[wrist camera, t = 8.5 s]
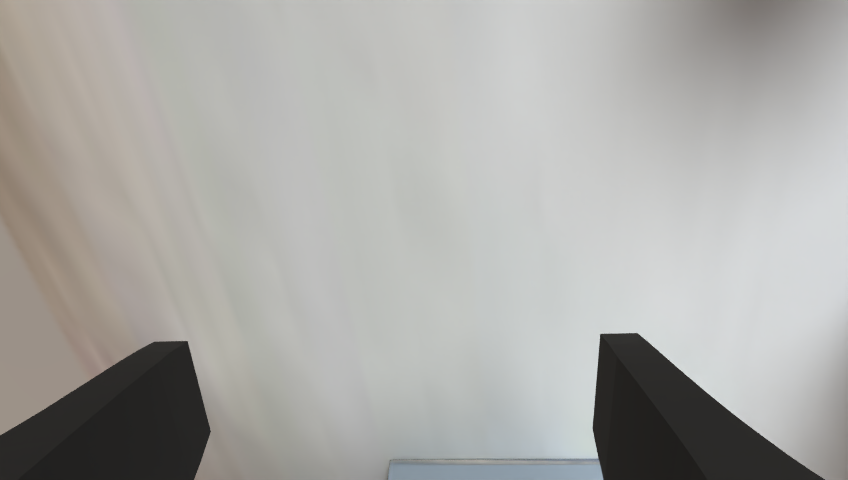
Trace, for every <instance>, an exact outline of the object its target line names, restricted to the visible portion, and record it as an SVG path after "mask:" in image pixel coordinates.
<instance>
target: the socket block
mask: <svg viewBox="0 0 848 480" xmlns="http://www.w3.org/2000/svg"><path fill="white" fill-rule="evenodd" d="M388 480H603V475H602V471H601V466H600V462H599V459H511V460H390V468H389V475H388Z"/></svg>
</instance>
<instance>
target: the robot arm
mask: <svg viewBox="0 0 848 480" xmlns="http://www.w3.org/2000/svg"><path fill="white" fill-rule="evenodd" d="M210 432H211V431H210V427H209V423H208V419H207V415H206V412H205V408H204V404H203V400H202V396H201V392H200V388H199V384H198V380H197V376H196V373H195V369H194V365H193V361H192V357H191V353H190V349H189V345H188V341H171V342H153V343H151V344H149V345H147V346H145V347H143V348H142V349H140V350H138V351H136V352H135V353H133V354H131V355H130V356H128V357H126V358H125V359H123V360H121V361H120V362H118V363H117V364H115V365H113V366H112V367H110V368H109V369H107V370H105V371H104V372H102V373H101V374H99V375H98V376H96V377H94V378H93V379H91V380H90V381H88V382H87V383H85V384H83V385H82V386H80V387H79V388H77V389H76V390H74V391H73V392H71V393H69V394H68V395H66V396H65V397H63V398H61V399H60V400H58V401H57V402H55V403H54V404H52V405H50V406H49V407H47V408H46V409H44V410H42V411H41V412H39V413H38V414H36V415H35V416H32V417H31V418H29V419H27V420H26V421H24V422H23V423H21V424H19V425H17V426H16V427H14V428H12V429H11V430H9V431H7V432H6V433H4V434H2V435H0V480H194V478H195V475H196V473H197V470H198V467H199V465H200V462H201V459H202V456H203V453H204V450H205V447H206V444H207V441H208V438H209V435H210ZM593 433H594V438H595V442H596V447H597V452H598V457H599V462H600V466H601V471H602V475H603V480H825V479H823V478H822V477H820V476H818V475H817V474H815V473H814V472H812V471H811V470H809V469H808V468H806V467H805V466H803V465H802V464H800V463H799V462H797V461H796V460H795V459H793V458H792V457H790V456H789V455H787V454H786V453H785V452H783V451H782V450H780V449H779V448H778V447H776V446H775V445H774V444H772V443H771V442H770V441H768V440H767V439H765V438H764V437H763V436H761V435H760V434H759V433H757V432H756V431H755V430H753V429H752V428H750V427H749V426H748V425H747V424H745V423H744V422H743V421H741V420H740V419H739V418H738V417H736V416H735V415H734V414H732V413H731V412H730V411H729V410H727V409H726V408H725V407H724V406H722V405H721V404H720V403H719V402H717V401H716V400H715V399H714V398H713V397H711V396H710V395H709V394H708V393H706V392H705V391H704V390H703V389H702V388H700V387H699V386H698V385H697V384H696V383H695V382H693V381H692V380H691V379H690V378H689V377H687V376H686V375H685V374H684V373H683V372H682V371H681V370H679V369H678V368H677V367H676V366H675V365H674V364H672V363H671V362H670V361H669V360H668V359H667V358H666V357H664V356H663V355H662V354H661V353H660V352H659V351H658V350H656V349H655V348H654V347H653V346H652V345H651V344H650V343H648V342H647V341H646V340H645V339H644V338H642V337H641V336H640V335H639V334H638V333H626V334H600V346H599V358H598V370H597V383H596V395H595V407H594V419H593Z"/></svg>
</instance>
